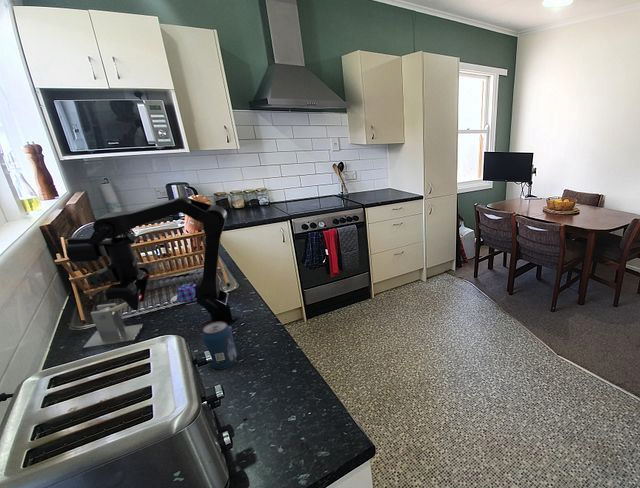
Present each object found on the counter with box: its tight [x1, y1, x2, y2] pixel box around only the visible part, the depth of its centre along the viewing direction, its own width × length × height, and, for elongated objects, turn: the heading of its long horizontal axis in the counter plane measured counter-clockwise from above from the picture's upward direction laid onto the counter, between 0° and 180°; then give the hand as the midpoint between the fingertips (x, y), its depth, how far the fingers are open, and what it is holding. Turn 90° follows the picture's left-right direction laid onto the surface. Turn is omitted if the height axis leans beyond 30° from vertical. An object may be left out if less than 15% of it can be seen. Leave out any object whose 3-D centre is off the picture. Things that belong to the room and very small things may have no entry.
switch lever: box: [100, 294, 142, 314], centre depth 104 cm, size 11×5×2 cm, turn 111°
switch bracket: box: [82, 302, 144, 350], centre depth 104 cm, size 12×9×11 cm
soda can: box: [201, 321, 238, 370], centre depth 96 cm, size 7×7×12 cm
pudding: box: [170, 283, 198, 306], centre depth 129 cm, size 12×12×5 cm
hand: (138, 305), depth 105 cm, fingers closed on switch lever, 5 cm apart
